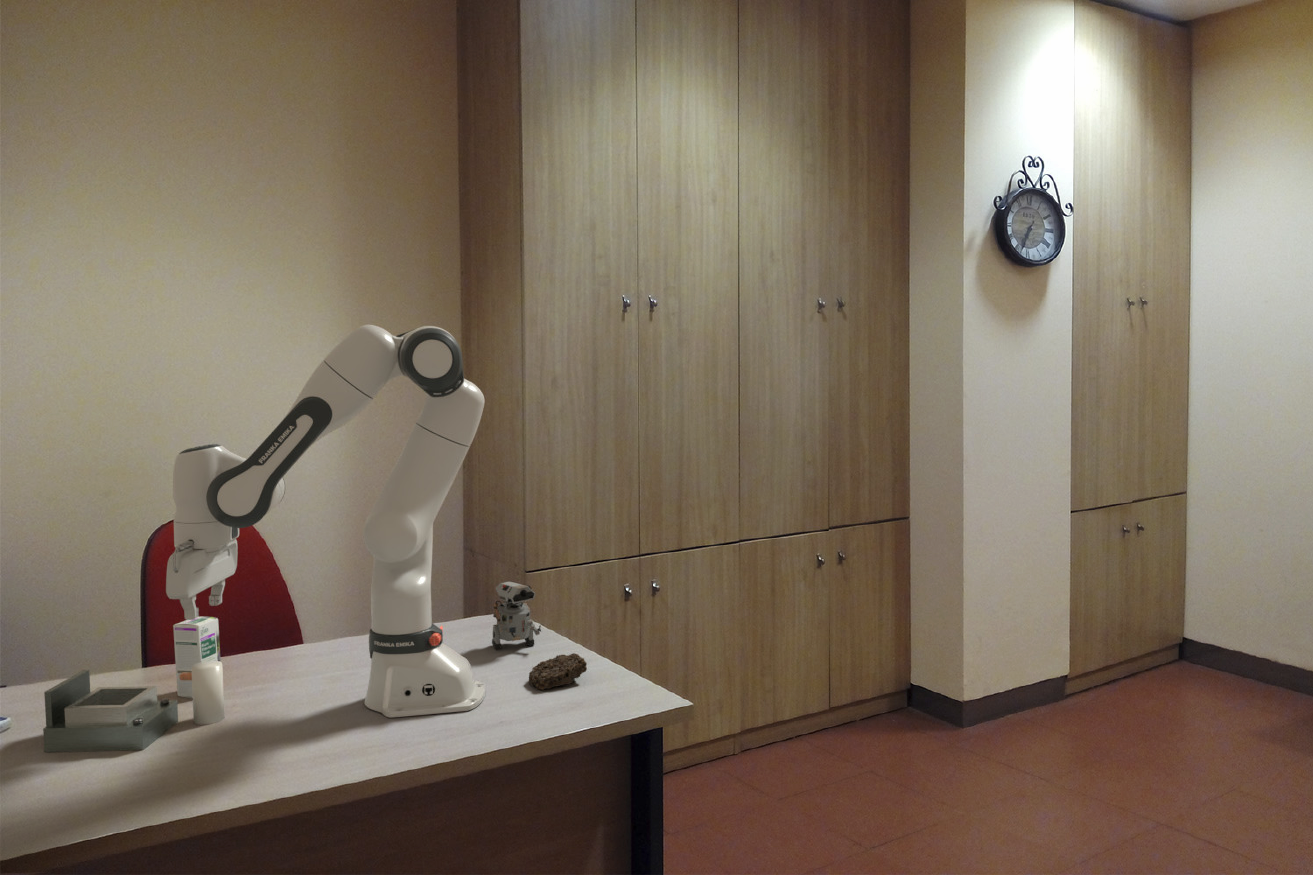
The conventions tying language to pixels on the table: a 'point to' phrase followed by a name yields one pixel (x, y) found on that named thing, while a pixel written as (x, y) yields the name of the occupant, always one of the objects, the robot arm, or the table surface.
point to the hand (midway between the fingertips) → (204, 611)
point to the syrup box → (194, 647)
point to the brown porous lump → (557, 671)
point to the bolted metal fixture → (104, 716)
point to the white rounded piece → (206, 691)
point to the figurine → (513, 614)
